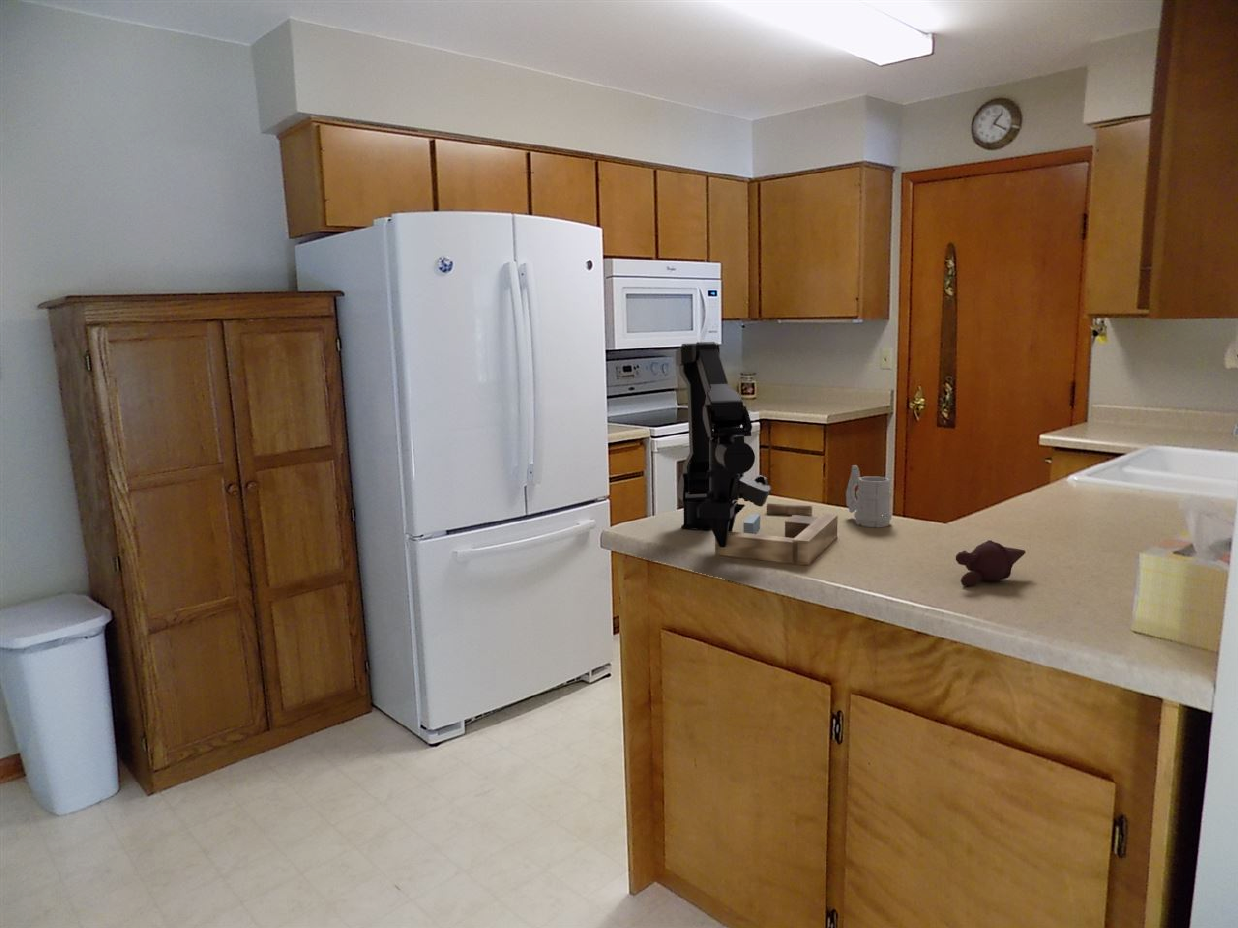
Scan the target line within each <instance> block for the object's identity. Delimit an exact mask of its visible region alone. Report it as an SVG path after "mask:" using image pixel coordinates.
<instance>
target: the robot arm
mask: <svg viewBox="0 0 1238 928" xmlns="http://www.w3.org/2000/svg"><path fill="white" fill-rule="evenodd" d="M720 352H721V351H720V345H719V343H718V342H715V341H699V342H698V341H697V342H696V343H682V344H681V345H680V347H678V348H677V349H676V351H675V364H676V366H678V374H679V375H680V377H681V379H682V381H683V382H684V383H685V385H686V394H687V395H686V396H687V420H688V442H689V449H688V450H689V452H688V453H689V454H688V455H687V457H686V459H685V460H684V462H683V465H682V473H680V477H679V481H678V485H677V496H678V498H679V500H681V502H683V506H682V507H683V524H681V526H680V527H681V529H691V530H702V531H703V530H706V531H710V530H711V531H712V534H713V536H714V539H715V538H716V540H717V542H718V545H719V547H725V546H726V541H727V536H728V531H731V532H733V530H734V525H735V522H736V517H737V515H738V514H739V513H740V511H742V510H743V509H744V507H745V506H746V504H744V503H743V504H742V503H739V500H740V499H742V500H743V501H744V502H750V503H752V504H753V505H755V506H757V507H760V508H761V507H763V506H764V505H765V504H766V502H767V499H768V497H769V494H770V492H771V489H772V487H771V485H768V478H767V477H766V476H764V475H762V474H760V475H758V476H757V477H756V478H755V479H753V478H751V477H750V478H748V477H745V475H744V474H745V473H747V472H749V471H750V470H751V469H752V467H754V464H755V461H756V460H755V459H756V455H755V451H754V449H753V447H751V445H750V444H748V443H746V442H745V437H752V430H753V424H752V421H751V417H750V413H749V410H748V409H747V406H746V404H745V403H744V402H743V399H742V398H741V395H740V393H739V392H737V390H734V389H733V388H731V387H730V385H729V381H728V378H727V374H726V372H725V369H724V366H723V363H722V360H721V357H720V354H721V353H720Z"/></svg>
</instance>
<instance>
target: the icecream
mask: <svg viewBox="0 0 1238 928" xmlns="http://www.w3.org/2000/svg"><path fill="white" fill-rule="evenodd" d="M1025 554H1026V550H1024V549H1021V548H1020V549H1018V548H1013V547H1006V546H1003V545H1002V544H1001V543H999V542H996V541H993V540H992V539H991V540H989V539H988V540H987V541H985V542H982V543H980V544H979V545H977V546H976V547H975V548H974V549H973V550H972V551H971V552H968V551H967V550H962V551H960V552H957V554H956V555H955V562H956V563H958V565H960V566H965V568H966V569H967V570H968V572H965V574H964V575H963V576H962V577H961V580H960V581H961V582H960V583H961V585H962V586H963V587H972V586H974V585H975V584H976V583H978V582H979V581H980V580H981V581H985V582H986V581H987V582H996V581H1003V580H1005V579H1008V578H1010V577H1011V574H1012V569H1013V566H1014V565H1015V563H1017V562H1018V560H1020V559H1021V558H1022V557H1023V556H1024V555H1025Z"/></svg>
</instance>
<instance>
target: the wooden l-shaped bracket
mask: <svg viewBox="0 0 1238 928" xmlns="http://www.w3.org/2000/svg"><path fill="white" fill-rule="evenodd" d="M817 517H818V516H817ZM838 518H839V514H832V513H821V514H820V515H819V517H818V518H817V519H816V520H815V521H814V522H813V523H811V524H810V525H809V526H808V527H807V528H806V529H804V530H803V531H802V532H801V533H800V534H799V535H797V536H796V537H795V538H788V537H785V536H776V535H769V534H759V533H756V534H750V533H743V532H739V531H732V532H731V531H728V536H727V541H726V546H725V547H719V545H718V542H717V540H716V538H715V537H714V555H718V556H727V557H732V558H733V557H735V558H742V559H752V560H759V561H766V562H767V561H768V562H775V563H785V564H794V565H800V566H801V565H802V566H809V565H810V564H811V563H812V562H814V560H815V559H816V558H817V557H818V556H819V555H820V554H821V553H822V552H823V551H824V550H825V549H826V548H827V547H828V546H829V545H830V544H831V543H833V541H834V540H835V539H836V538H837V537H838V520H839V519H838Z"/></svg>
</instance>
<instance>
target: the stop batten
mask: <svg viewBox="0 0 1238 928" xmlns="http://www.w3.org/2000/svg"><path fill="white" fill-rule="evenodd" d="M742 526H743V528H742V529H743V531H742V533H750V534H758V532H759V531H760V529H761V514H756V513H751V514H750V515H749V516H748V517H747V518H746V519H745V520H744V521H743V525H742Z"/></svg>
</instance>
